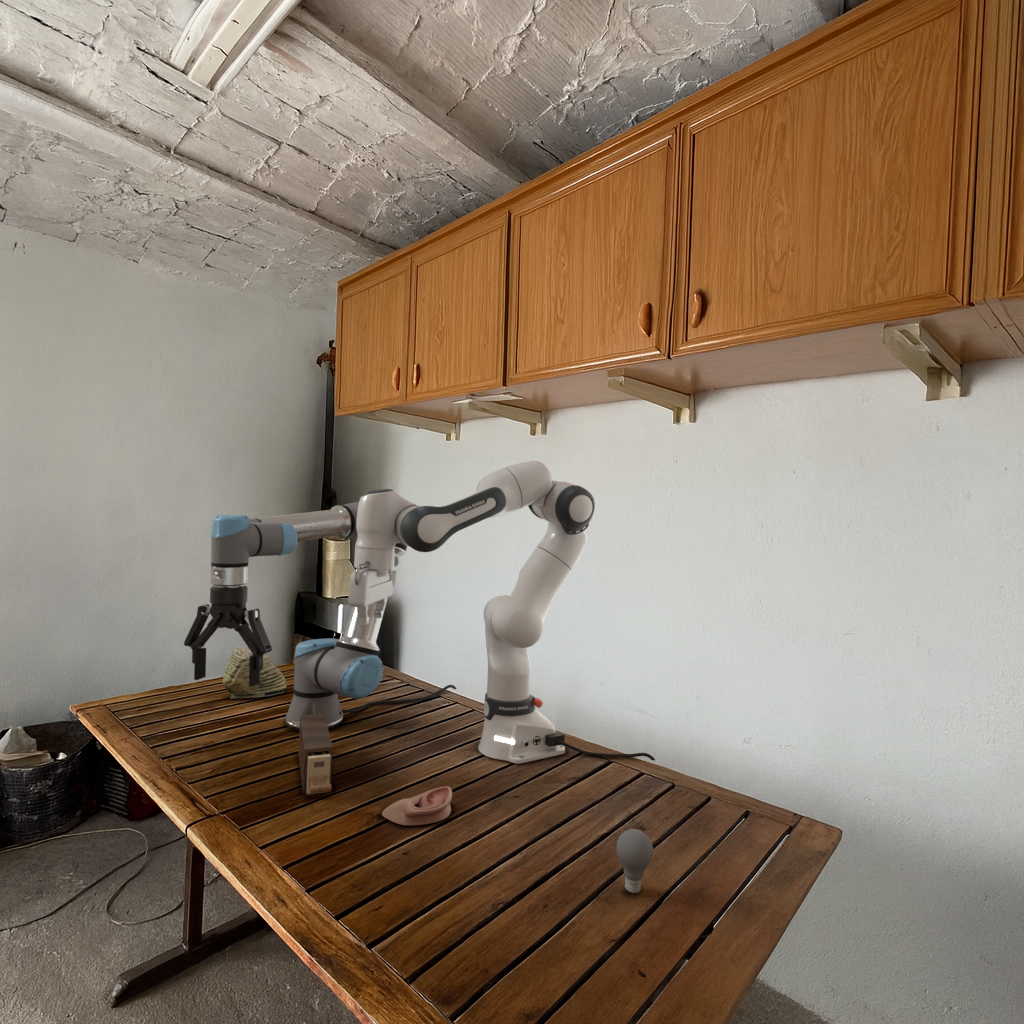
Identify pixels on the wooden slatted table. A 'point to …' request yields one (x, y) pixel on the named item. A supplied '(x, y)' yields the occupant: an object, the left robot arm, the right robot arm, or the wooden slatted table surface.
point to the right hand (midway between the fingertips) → (371, 621)
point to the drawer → (318, 773)
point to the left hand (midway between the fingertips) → (226, 681)
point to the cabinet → (312, 742)
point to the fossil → (239, 676)
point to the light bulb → (634, 857)
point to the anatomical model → (421, 808)
